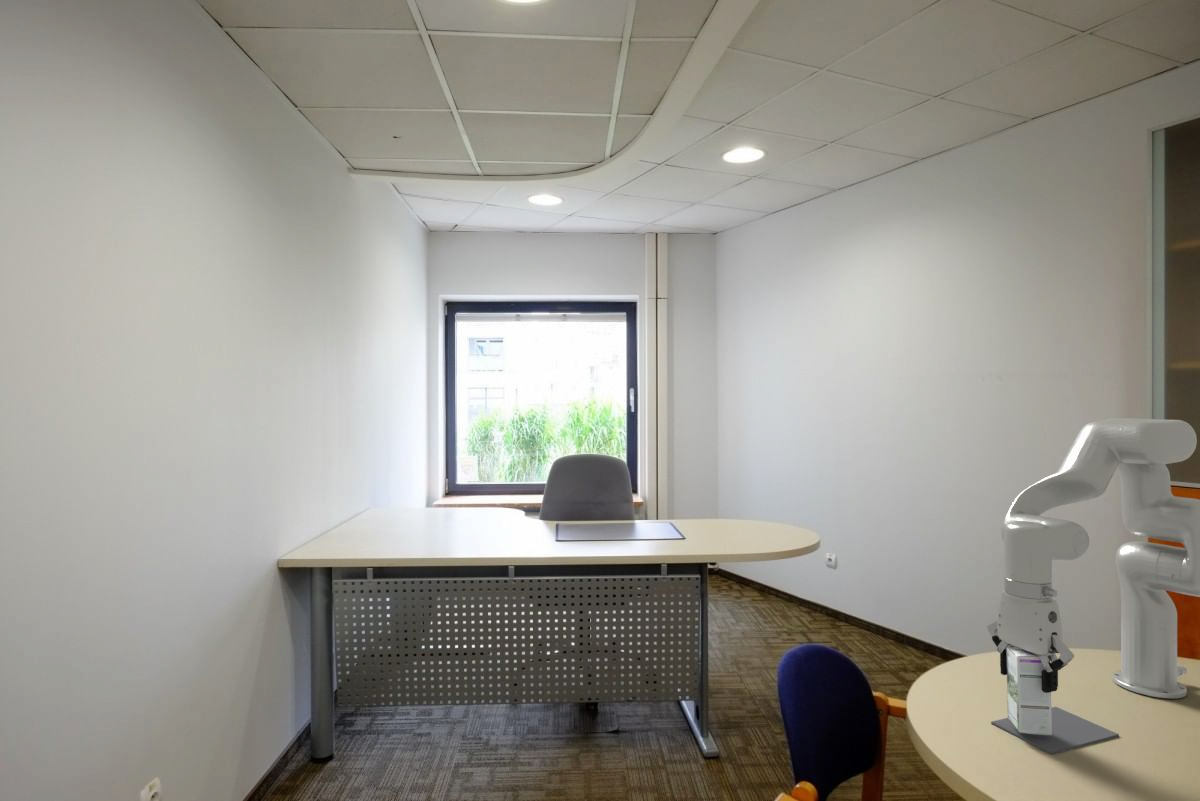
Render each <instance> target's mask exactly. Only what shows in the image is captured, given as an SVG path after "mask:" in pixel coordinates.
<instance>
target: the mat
mask: <svg viewBox="0 0 1200 801" xmlns="http://www.w3.org/2000/svg"><path fill="white" fill-rule="evenodd" d="M1051 710H1052V735H1039V734H1027V733H1021V732H1019V731H1018V730H1017V729H1016V728H1015V726H1014V725H1013V724H1012V723H1011V721H1010V720H1009V719H1008V717H1006V718H1005V717H1004V718H1002V719H997V720H992V721H991V722H990V724H991V725H993V726H994V727H996V728H999V730H1000V729H1001V730H1002V731H1005V732H1007V733H1009V734H1010V735H1012V736H1014V737H1017V738H1018V739H1021V740H1022V741H1024V742H1026V743H1028V744H1030V745H1032V746H1035V747H1036V748H1038V749H1039V750H1042V751H1044V752H1046V753H1048V754H1050V755H1055V754H1058V753H1062V752H1067V751H1069V750H1073V749H1077V748H1080V747H1085V746H1088V745H1092V744H1095V743H1099V742H1102V741H1107V740H1110V739H1115V738H1118V737H1120V734H1119V733H1116V732H1115V731H1112V730H1109V729H1108V728H1105V727H1103V726H1101V725H1099V724H1097V723H1094V722H1092V721H1090V720H1087V719H1085V718H1083V717H1081V716H1079V715H1076V714H1073V713H1071V712H1069V711H1067V710H1065V709H1062V708H1060V707H1058V706H1051Z"/></svg>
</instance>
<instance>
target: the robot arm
mask: <svg viewBox="0 0 1200 801" xmlns="http://www.w3.org/2000/svg"><path fill="white" fill-rule="evenodd" d="M1197 442H1198V440H1197V433H1196V432H1195V429H1194V428H1193V427H1192V426H1191V425H1190V423H1188V422H1186V421H1184V420H1181V419H1162V418H1160V419H1157V418H1156V419H1155V418H1154V419H1153V418H1148V419H1147V418H1133V417H1132V418H1129V417H1128V418H1125V417H1120V418H1119V417H1118V418H1107V419H1104V420H1095V421H1091V422H1089V423H1086V424H1084V426H1082V428H1080V430H1079V432H1078V433H1077V435H1076V437H1075V439H1074V440H1073V443H1072V444H1071V446H1070V448H1069V450H1068V452H1067V453H1066V455H1065V456H1064V459H1063V460H1062V463H1061V464H1060V466H1059V468H1058V470H1057V471H1056V472H1054V473H1051V474H1050V475H1048V476H1046V477H1044V478H1042V479H1040V480H1038V481H1037V482H1034V483H1033V484H1031V485H1030V486H1027V488H1026V487H1025V489H1024V490H1021V492H1020V493H1019V494H1018V495H1017V496H1016V497H1015V498H1014V500H1013V501H1012V502H1011V505H1010V507H1009V509H1008V511H1007V512H1006V514H1005V516H1004V519H1003V521H1002V525H1001V529H1000V530H1001V538H1002V541H1003V545H1004V546H1003V550H1004V551H1003V555H1004V558H1003V565H1004V566H1003V570H1004V572H1003V574H1004V577H1003V578H1004V582H1003V584H1004V589H1003V590H1002V591H1001V594H1000V597H999V598H1000V599H999V602H998V604H999V605H998V611H997V620H996V621H994V622H992V623H990V624H988V625H987V626H986V629H987V631H988V633H989V634H990V637H991V640H992V641H993V643H994V645H995V646H996V651H997V652H998V653H999V654H1000V655H999V658H1000V659H999V660H1000V661H999V662H1000V675H1003V676H1007V658H1006V647H1007V646H1008V645H1012V646H1015V647H1017V648H1020V649H1023V650H1025V651H1028V652H1031V653H1033V654H1036V655H1039V657H1040V660H1041V662H1042V664H1043V666H1044V668H1045V670H1042V691H1043V692H1045V693H1049V692H1051V693H1052V692H1053V693H1054V692H1057V691H1058V687H1059V671H1060V670H1062V669H1063V668H1064V667H1066V666H1068V664H1069V663H1070V662H1071V661H1072V660H1073V659H1075V654H1074V653H1073V652H1072V651H1071V649H1070V648H1069V647H1068V646H1067V645H1066V644H1065V643H1064V640H1063V639H1064V638H1063V628H1062V626H1063V624H1062V619H1061V613H1060V609H1059V606H1058V602H1057V600H1056V599H1054V598H1056V597H1057V595H1058V591H1057V590H1056V589H1054V588H1053V582H1052V581H1053V578H1052V577H1053V576H1052V574H1053V573H1052V572H1053V571H1052V570H1053V569H1052V568H1053V566H1052V564H1053V563H1052V561H1072V560H1077V559H1079V558H1081V557H1082V556H1084V554H1085V553H1086V552H1087V551H1088V549H1089V546H1090V537H1089V534H1088V532H1087V530H1086V529H1085V527H1083V526H1082V525H1081V524H1079V523H1076V522H1075V521H1072V520H1067V519H1061V518H1056V517H1055V518H1054V517H1049V516H1041V515H1042V514H1043V513H1046V512H1048V511H1050V510H1051V509H1054V508H1058V507H1061V506H1066V505H1071V504H1077V503H1081V502H1086V501H1090V500H1093V499H1096V498H1099V497H1101V496H1102V495H1104V493H1105V492H1106V490H1107V488H1108V486H1109V485H1110V482H1111V481H1112V478H1113V477H1114V475H1115V473H1116V470H1117V471H1118V474H1119V481H1120V482H1119V483H1120V498H1121V515H1122V522H1123V526H1124V529H1125V530H1126V531H1127V532H1129V533H1131V534H1132V535H1135V536H1140V537H1142V538H1143V537H1144V538H1148V539H1149V538H1150V539H1156V540H1160V541H1161V540H1162V541H1168V542H1175V543H1180V544H1182V545H1183V547H1180V546H1174V545H1173V546H1172V545H1169V544H1162V543H1155V542H1149V541H1140V540H1139V541H1138V540H1137V541H1136V540H1135V541H1128V542H1124V543H1122V544H1121V545H1120V546H1119V547H1118V548H1117V551H1116V552H1115V565H1116V566H1115V567H1116V571H1117V575H1118V581H1119V585H1120V586H1119V588H1120V603H1121V604H1120V605H1121V606H1120V607H1121V608H1120V609H1121V611H1120V612H1121V613H1120V619H1121V620H1120V639H1121V641H1120V646H1121V649H1120V654H1121V656H1120V657H1121V658H1120V661H1121V663H1120V666H1121V667H1120V670H1116V671H1114V672H1112V681H1113V682H1114V683H1115V684H1117V685H1118V686H1120V687H1122V688H1124V689H1125V690H1128V691H1130V692H1134V693H1137V694H1139V695H1145V696H1148V697H1151V698H1152V697H1153V698H1154V697H1155V698H1159V699H1169V700H1170V699H1171V700H1173V699H1182V698H1184V697H1186V696H1187V693H1188V690H1187V687H1186V686H1185V685H1184V684H1183V683H1180V682H1179V681H1178V678H1179V676H1182V675H1186V674H1187V673H1188V670H1187V668H1186V667H1185V666H1184V665H1182V664H1179V665H1178V611H1177V608H1176V605H1175V603H1174V601H1173V600H1172V598H1171V596H1170V595H1169V594H1168V592H1172V593H1177V594H1181V595H1186V596H1192V597H1196V598H1197V597H1198V598H1200V499H1198V498H1191V497H1182V496H1175V495H1174V494H1173V493H1172V487H1171V486H1172V485H1171V475H1170V471H1169V469H1168V467H1167V466H1166V465H1168V464H1175V463H1181V462H1184V461H1185V460H1187V459H1189V458H1190V457H1191V456H1192V455H1193V453H1195V450H1196V448H1197ZM1167 591H1168V592H1167ZM1057 654H1059V656H1057ZM1047 656H1048V657H1050V661H1049V659H1048V657H1047Z"/></svg>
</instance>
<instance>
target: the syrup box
mask: <svg viewBox="0 0 1200 801" xmlns="http://www.w3.org/2000/svg"><path fill="white" fill-rule="evenodd" d="M1047 657H1048V656H1047ZM1006 658H1007V675H1006V695H1007V696H1006V697H1007V700H1006V701H1007V718H1008V719H1009V720H1010V721H1011V723H1012V724H1013V725H1014V726H1015V728H1016V729H1017V730H1018V731H1019V732H1021V733H1027V734H1039V735H1052V710H1051V708H1052V692H1049V693H1045V692H1043V691H1042V670H1045V668H1044V666H1043V664H1042V662H1041V660H1040V657H1039V655H1036V654H1033V653H1031V652H1028V651H1025V650H1023V649H1020V648H1017V647H1015V646H1012V645H1008V646H1007V647H1006ZM1048 659H1049V661H1050V657H1048ZM1050 662H1051V661H1050Z"/></svg>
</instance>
